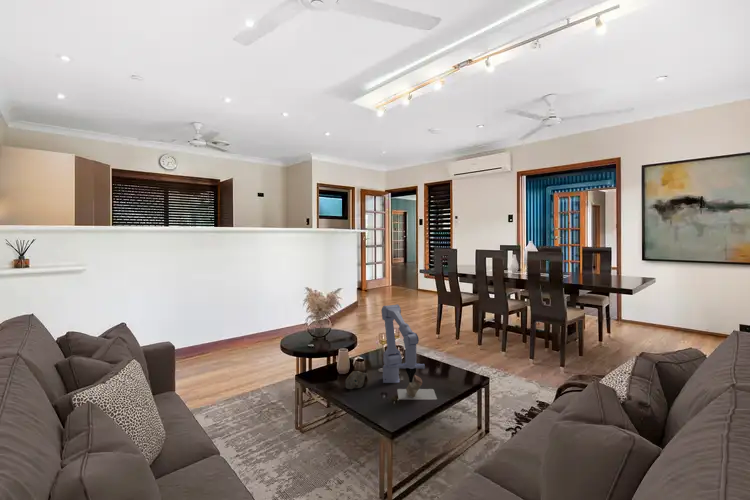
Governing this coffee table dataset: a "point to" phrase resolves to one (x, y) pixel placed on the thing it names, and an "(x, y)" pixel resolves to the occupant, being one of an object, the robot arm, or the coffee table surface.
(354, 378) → the rock
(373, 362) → the coffee table surface
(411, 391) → the wooden block
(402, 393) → the grey mat
